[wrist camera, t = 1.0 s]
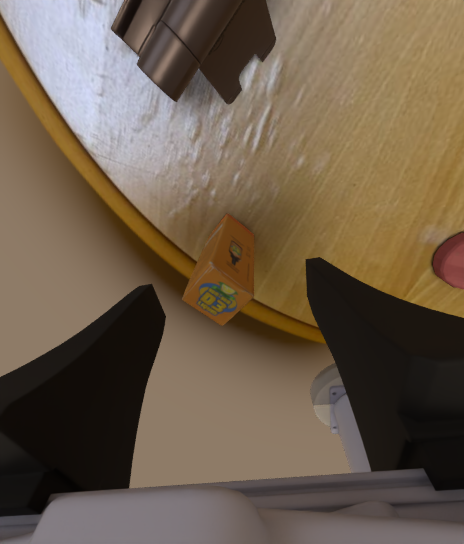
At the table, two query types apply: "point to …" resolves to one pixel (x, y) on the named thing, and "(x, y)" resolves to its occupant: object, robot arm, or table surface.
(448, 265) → the popsicle
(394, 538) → the robot arm
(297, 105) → the table surface
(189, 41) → the tablet stand
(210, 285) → the supplement box
